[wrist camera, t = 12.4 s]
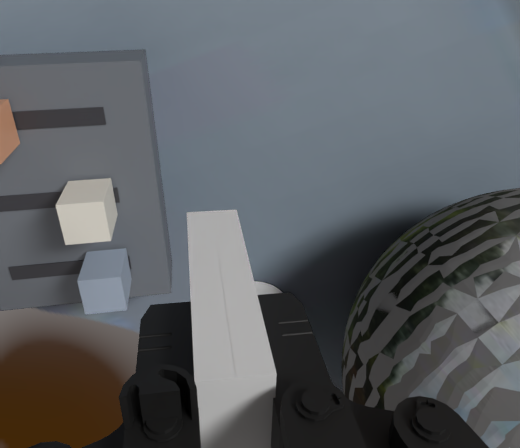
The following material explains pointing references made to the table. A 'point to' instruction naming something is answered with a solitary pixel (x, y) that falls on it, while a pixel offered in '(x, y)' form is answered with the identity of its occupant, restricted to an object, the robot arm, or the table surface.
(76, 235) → the slider ivory
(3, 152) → the slider terracotta
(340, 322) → the table surface
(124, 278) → the block
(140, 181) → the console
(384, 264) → the decorative globe
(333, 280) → the table surface
